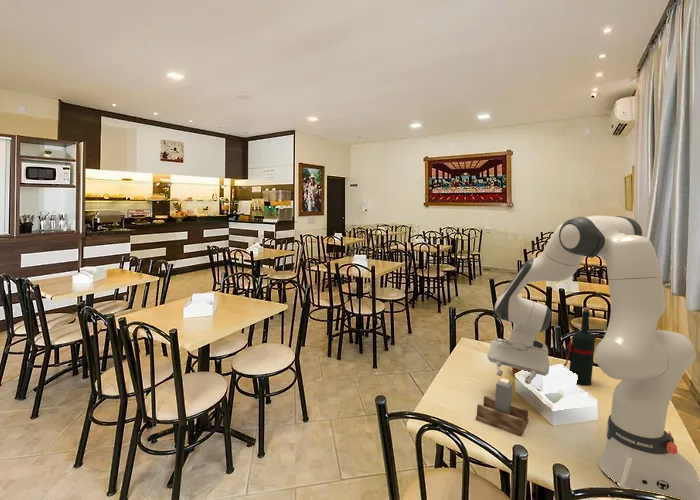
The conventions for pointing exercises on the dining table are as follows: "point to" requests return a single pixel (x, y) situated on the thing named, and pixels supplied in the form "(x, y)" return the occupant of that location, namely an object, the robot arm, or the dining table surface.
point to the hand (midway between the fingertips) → (512, 379)
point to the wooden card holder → (502, 416)
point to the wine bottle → (582, 352)
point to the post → (503, 396)
